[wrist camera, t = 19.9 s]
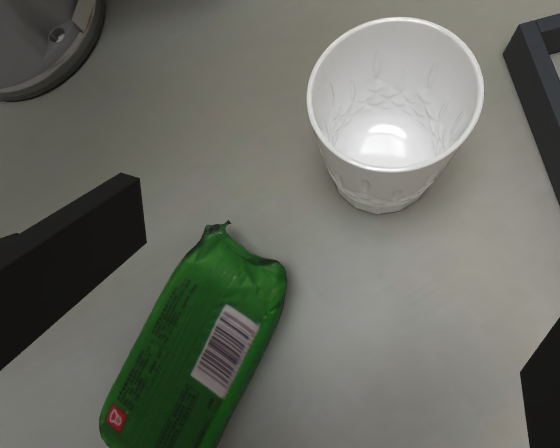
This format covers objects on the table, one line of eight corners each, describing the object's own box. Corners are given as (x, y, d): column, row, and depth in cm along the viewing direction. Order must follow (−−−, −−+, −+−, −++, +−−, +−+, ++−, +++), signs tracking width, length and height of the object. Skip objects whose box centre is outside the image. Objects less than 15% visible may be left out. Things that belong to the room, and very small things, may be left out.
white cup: (364, 245, 27) (368, 206, 18) (302, 155, 29) (276, 77, 20) (465, 180, 27) (524, 105, 17) (394, 95, 29) (412, -13, 20)
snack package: (311, 271, 28) (301, 260, 23) (201, 492, 26) (163, 534, 21) (224, 227, 29) (197, 208, 24) (115, 430, 28) (62, 454, 23)
